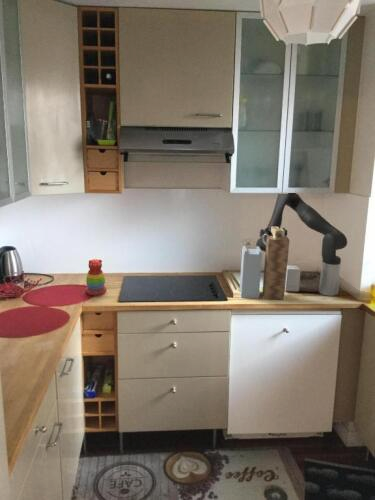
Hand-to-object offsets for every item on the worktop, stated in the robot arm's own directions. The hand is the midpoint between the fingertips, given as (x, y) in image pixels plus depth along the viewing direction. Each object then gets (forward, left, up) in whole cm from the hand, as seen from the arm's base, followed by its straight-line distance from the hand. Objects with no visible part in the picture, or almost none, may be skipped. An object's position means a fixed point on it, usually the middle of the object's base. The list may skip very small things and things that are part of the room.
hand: (275, 229), depth 222 cm
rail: (0, +3, -3) cm, 4 cm away
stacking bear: (+92, +8, -35) cm, 99 cm away
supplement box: (-12, -6, -35) cm, 37 cm away
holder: (+12, +4, -35) cm, 37 cm away
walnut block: (0, +7, -35) cm, 35 cm away
